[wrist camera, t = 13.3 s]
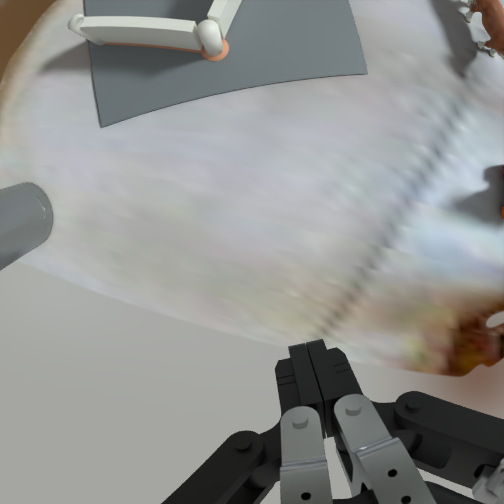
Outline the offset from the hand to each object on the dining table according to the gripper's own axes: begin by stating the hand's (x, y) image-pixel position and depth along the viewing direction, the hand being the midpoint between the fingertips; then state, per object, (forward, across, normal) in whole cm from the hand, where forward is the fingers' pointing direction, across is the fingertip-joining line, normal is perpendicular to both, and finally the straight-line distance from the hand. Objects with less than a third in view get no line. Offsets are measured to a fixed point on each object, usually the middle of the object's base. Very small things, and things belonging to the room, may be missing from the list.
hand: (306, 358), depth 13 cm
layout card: (+26, 0, -25) cm, 37 cm away
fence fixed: (+27, +8, -23) cm, 36 cm away
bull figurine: (+26, -37, -21) cm, 50 cm away
